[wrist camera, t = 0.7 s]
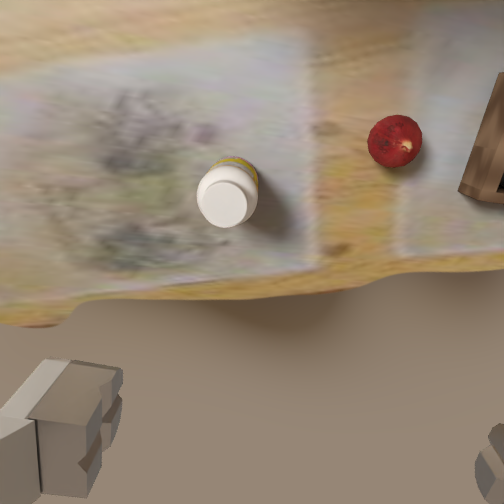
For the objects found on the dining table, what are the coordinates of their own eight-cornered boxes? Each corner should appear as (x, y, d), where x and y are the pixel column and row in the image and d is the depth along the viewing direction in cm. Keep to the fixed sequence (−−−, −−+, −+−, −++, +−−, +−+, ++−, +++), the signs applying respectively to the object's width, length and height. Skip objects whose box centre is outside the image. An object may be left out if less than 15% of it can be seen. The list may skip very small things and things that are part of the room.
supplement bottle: (241, 215, 51) (233, 249, 39) (199, 188, 50) (178, 215, 38) (268, 173, 49) (270, 197, 37) (225, 144, 48) (212, 158, 36)
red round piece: (355, 157, 48) (372, 168, 40) (368, 109, 46) (388, 111, 38) (400, 165, 48) (425, 177, 41) (415, 118, 46) (444, 122, 38)
